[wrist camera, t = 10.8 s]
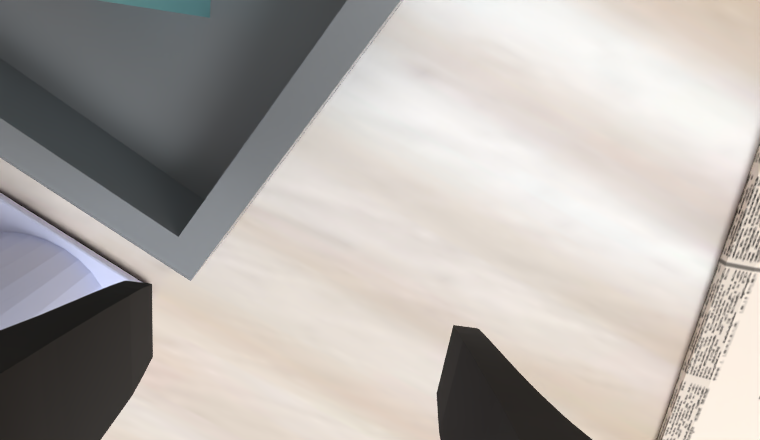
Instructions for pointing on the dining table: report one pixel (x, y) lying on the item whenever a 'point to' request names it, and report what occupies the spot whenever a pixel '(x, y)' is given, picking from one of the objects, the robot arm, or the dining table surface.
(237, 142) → the bin
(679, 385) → the newspaper
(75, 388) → the robot arm
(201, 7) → the strut
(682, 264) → the dining table surface
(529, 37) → the dining table surface
